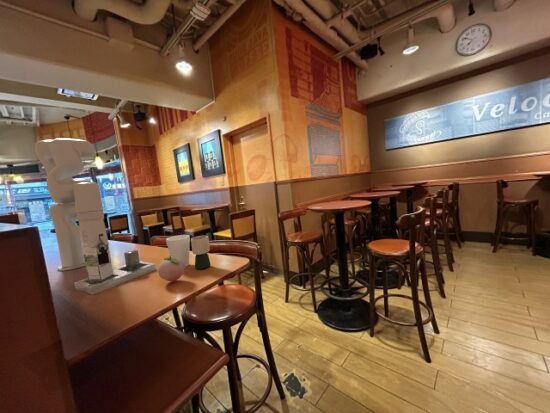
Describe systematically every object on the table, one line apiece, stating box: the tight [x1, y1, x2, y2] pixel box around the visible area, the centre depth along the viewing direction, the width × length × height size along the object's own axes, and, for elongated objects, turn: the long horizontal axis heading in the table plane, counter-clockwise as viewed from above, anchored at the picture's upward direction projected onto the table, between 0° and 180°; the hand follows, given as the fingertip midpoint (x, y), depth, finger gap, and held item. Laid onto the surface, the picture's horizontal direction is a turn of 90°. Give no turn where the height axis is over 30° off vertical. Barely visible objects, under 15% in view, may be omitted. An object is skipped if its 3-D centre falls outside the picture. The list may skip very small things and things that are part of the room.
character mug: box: [190, 235, 211, 270], centre depth 96 cm, size 11×7×13 cm, turn 55°
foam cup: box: [165, 234, 191, 268], centre depth 99 cm, size 10×9×13 cm
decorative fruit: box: [157, 255, 185, 283], centre depth 83 cm, size 9×8×10 cm
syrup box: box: [82, 242, 114, 280], centre depth 85 cm, size 6×6×14 cm
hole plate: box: [73, 249, 157, 295], centre depth 91 cm, size 13×24×9 cm, turn 152°
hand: (98, 262), depth 85 cm, fingers closed on syrup box, 7 cm apart
